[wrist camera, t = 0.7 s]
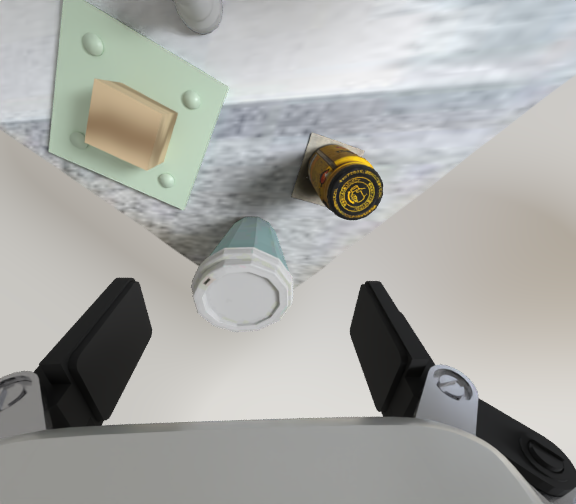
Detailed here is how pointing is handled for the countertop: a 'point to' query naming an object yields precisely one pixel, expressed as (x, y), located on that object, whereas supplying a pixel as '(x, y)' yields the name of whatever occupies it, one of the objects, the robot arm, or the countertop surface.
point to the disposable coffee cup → (244, 279)
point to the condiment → (338, 179)
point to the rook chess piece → (200, 14)
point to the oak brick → (129, 124)
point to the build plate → (143, 78)
